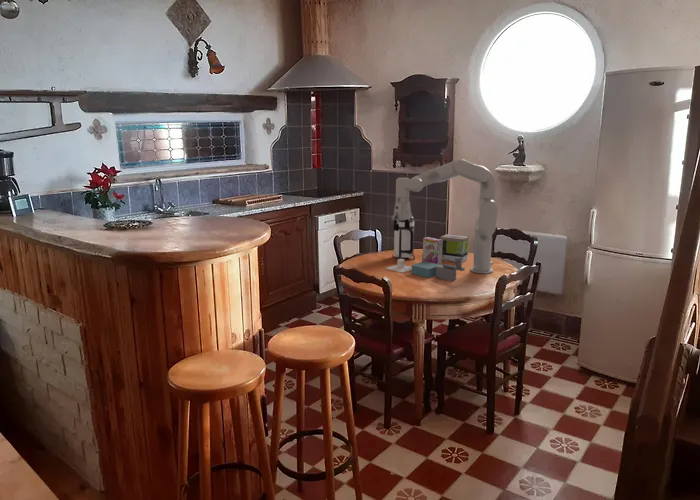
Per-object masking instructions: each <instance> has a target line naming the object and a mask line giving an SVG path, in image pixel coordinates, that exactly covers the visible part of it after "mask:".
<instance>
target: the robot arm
mask: <svg viewBox="0 0 700 500" xmlns="http://www.w3.org/2000/svg"><path fill="white" fill-rule="evenodd" d="M458 176H460V177H463V178H465V179H468V180H470V181H474V182H476V183H479V195H478V198H479V199H478V204H477V208H478V212H479V215H478V218H477V219H476V221H475V223H474V247H473V261H472V262H473V266H471V267H470V268H469V269H470V271H471V272H472V273H476V274H491V273H493V271H494V269H493V268H492V266H494V262H493V261H492V259H491V258H492V247H493V246H492V243H493V234H494V233H495V231H496V228H497V220H498V204H497V202H496V201H495V200H496V189H497V186H496V185H497V184H496V179H495V177H494V174H493V173H492V171H490V170H489V169H488V168H486V167H485V166H484V165H478V164H475V163H472V162H470V161H468V160H466V159H464V158H458V159H455V160H452V161H450V162H448V163H445V164H443V165H440V166H438V167H435V168H432V169H431V170H430V169H429V170H427V171H424V172H423V173H420V174H417V175H415V176H414V177H412V178H409V177H397V178H396V180H395V204H394V210H393V211H394V213H393V215H392V216H391V221H392V223H393V231H399V224H398V223H399V221H400V220H401V221H402V220H405V228H408V229H409V228H410V219H411V216H413V213H412V211H411V210H412V209H411V202H410V192H417V193H418V192H421V191H422V190H423V188H424V187H426V186H430V185H432V184H435V183H436V184H437V183H443V182H447V181H448V180H450V179H452V178H456V177H458ZM396 220H397V221H396Z"/></svg>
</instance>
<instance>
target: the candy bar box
mask: <svg viewBox="0 0 700 500" xmlns="http://www.w3.org/2000/svg"><path fill="white" fill-rule="evenodd" d="M442 246H443V240H440V238H439V239H438V238H434V237H429V236H427V237H426V236H425V237H423V239H422V255H421V256H422V259H421V262H424V261H426V262H430V263H435V264H439V265H443V264H442V263H443V260H442Z"/></svg>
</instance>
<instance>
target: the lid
mask: <svg viewBox="0 0 700 500" xmlns="http://www.w3.org/2000/svg"><path fill="white" fill-rule="evenodd" d="M396 262H397V264H395V265H390V266H387V267H384V269H385V270H389V271H393V272H396V273H400V274H401V273H402V274H403V273H407V272H411V271H412V266H410V265H406V264H405V263H406V260H405V258H401V259H398V258H397V260H396Z"/></svg>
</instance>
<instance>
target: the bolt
mask: <svg viewBox="0 0 700 500" xmlns="http://www.w3.org/2000/svg"><path fill="white" fill-rule="evenodd" d="M462 260H463V257H459V258H456V259H455V261H456V262H455V265H453V264H448V263H445V264H442V265H443V267H446V268H450V269H455V270H456V271H460V272H464V271H466V270H465V267H462V265H463V262H462Z"/></svg>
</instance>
